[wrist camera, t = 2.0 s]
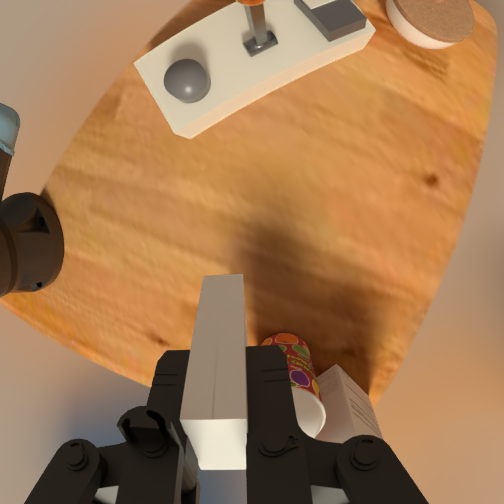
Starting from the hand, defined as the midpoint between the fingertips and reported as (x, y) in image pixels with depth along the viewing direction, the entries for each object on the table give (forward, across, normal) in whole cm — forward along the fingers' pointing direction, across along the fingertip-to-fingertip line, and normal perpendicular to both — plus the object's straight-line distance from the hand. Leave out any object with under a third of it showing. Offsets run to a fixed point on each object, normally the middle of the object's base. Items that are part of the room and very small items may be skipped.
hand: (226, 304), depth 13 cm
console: (+29, +3, +14) cm, 32 cm away
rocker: (+21, +10, +18) cm, 30 cm away
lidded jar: (+28, +24, +20) cm, 42 cm away
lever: (+22, +3, +14) cm, 26 cm away
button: (+23, -4, +10) cm, 25 cm away
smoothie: (+21, +5, -23) cm, 31 cm away
